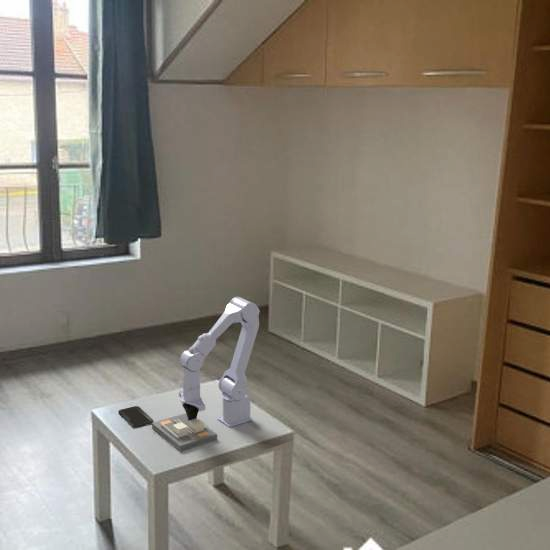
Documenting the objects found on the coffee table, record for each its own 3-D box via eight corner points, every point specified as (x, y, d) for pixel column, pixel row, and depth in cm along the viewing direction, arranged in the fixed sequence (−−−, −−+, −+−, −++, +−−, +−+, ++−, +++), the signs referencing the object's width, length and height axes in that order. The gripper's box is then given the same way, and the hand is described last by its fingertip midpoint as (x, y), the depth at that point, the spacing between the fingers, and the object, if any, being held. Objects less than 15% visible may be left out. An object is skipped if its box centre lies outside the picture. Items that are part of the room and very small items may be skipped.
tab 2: (198, 425, 247) (197, 417, 246) (204, 430, 244) (203, 422, 243) (189, 428, 245) (188, 420, 244) (195, 433, 242) (194, 424, 241)
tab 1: (182, 430, 244) (182, 422, 243) (188, 434, 241) (187, 426, 240) (173, 433, 242) (172, 424, 241) (178, 437, 239) (178, 429, 238)
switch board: (187, 417, 258) (187, 410, 257) (217, 439, 242) (217, 431, 241) (152, 428, 250) (151, 420, 249) (180, 451, 234) (180, 443, 233)
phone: (137, 405, 266) (154, 420, 253) (137, 408, 266) (154, 423, 254) (117, 410, 261) (132, 426, 249) (117, 413, 262) (133, 429, 250)
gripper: (170, 381, 246) (171, 418, 250) (191, 396, 235) (192, 434, 238) (188, 376, 250) (189, 412, 254) (210, 390, 239) (211, 428, 242)
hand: (192, 422), depth 246 cm, fingers closed
